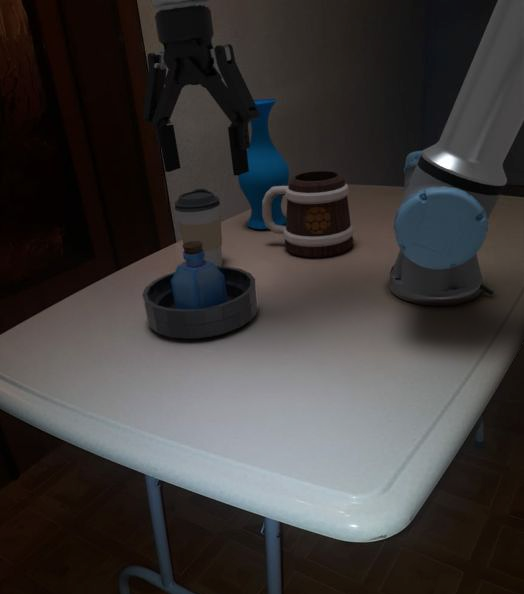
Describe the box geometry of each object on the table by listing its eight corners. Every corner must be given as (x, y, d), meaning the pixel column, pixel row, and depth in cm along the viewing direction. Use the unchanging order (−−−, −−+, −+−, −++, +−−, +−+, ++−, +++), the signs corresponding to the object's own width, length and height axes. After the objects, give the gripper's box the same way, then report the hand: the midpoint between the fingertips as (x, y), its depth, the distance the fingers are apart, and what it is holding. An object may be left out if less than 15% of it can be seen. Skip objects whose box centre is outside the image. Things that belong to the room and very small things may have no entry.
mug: (360, 236, 124) (360, 167, 116) (345, 261, 112) (344, 185, 104) (276, 233, 130) (271, 168, 123) (253, 256, 118) (246, 185, 111)
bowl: (279, 305, 96) (277, 275, 93) (209, 353, 83) (204, 320, 81) (199, 287, 106) (194, 260, 103) (126, 327, 93) (119, 297, 91)
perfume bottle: (176, 314, 94) (165, 246, 88) (204, 301, 98) (194, 235, 92) (201, 323, 90) (190, 253, 85) (228, 309, 94) (219, 241, 88)
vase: (299, 218, 140) (293, 96, 126) (280, 233, 130) (271, 104, 117) (256, 216, 145) (245, 99, 131) (234, 231, 135) (220, 106, 121)
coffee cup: (220, 273, 112) (211, 198, 104) (178, 273, 114) (165, 199, 106) (231, 257, 119) (223, 186, 112) (191, 257, 121) (181, 187, 114)
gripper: (275, -6, 70) (288, 168, 80) (137, 17, 83) (163, 163, 93) (239, -5, 64) (258, 181, 75) (98, 19, 78) (131, 174, 88)
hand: (205, 171), depth 84 cm, fingers open, 13 cm apart
